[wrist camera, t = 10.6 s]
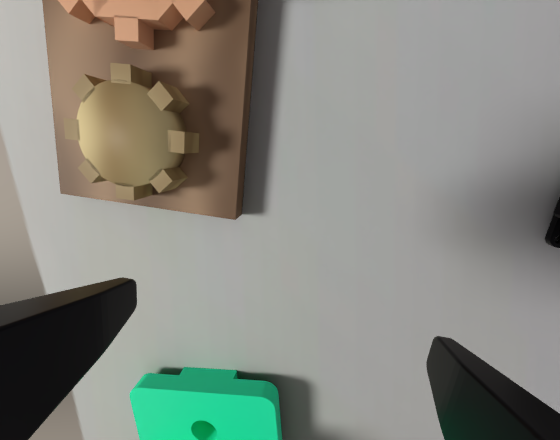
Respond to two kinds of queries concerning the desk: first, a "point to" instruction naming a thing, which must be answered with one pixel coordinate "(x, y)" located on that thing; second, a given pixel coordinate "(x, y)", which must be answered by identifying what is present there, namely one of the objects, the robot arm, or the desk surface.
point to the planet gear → (140, 17)
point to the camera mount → (205, 406)
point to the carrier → (154, 110)
